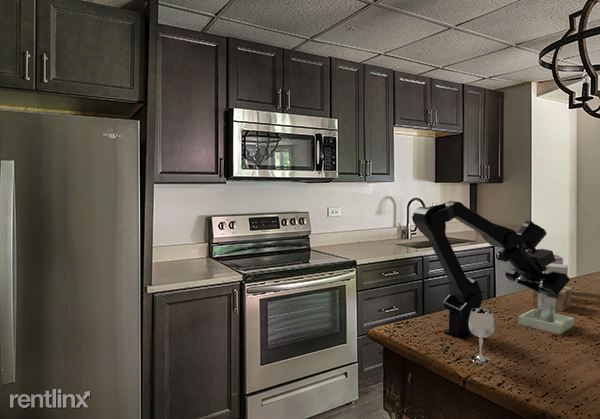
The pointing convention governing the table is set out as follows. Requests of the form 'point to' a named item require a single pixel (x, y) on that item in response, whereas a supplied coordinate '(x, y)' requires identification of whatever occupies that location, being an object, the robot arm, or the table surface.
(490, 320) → the wineglass
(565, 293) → the lidded bin
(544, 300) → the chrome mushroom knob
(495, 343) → the table surface
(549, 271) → the supplement box
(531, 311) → the tray
